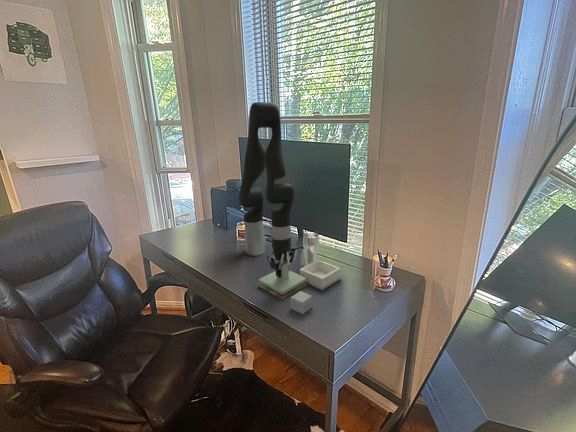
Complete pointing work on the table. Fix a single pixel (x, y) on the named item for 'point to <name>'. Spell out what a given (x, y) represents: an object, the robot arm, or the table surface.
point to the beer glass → (310, 247)
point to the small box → (301, 302)
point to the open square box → (321, 274)
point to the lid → (283, 279)
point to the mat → (284, 293)
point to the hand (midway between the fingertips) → (282, 275)
